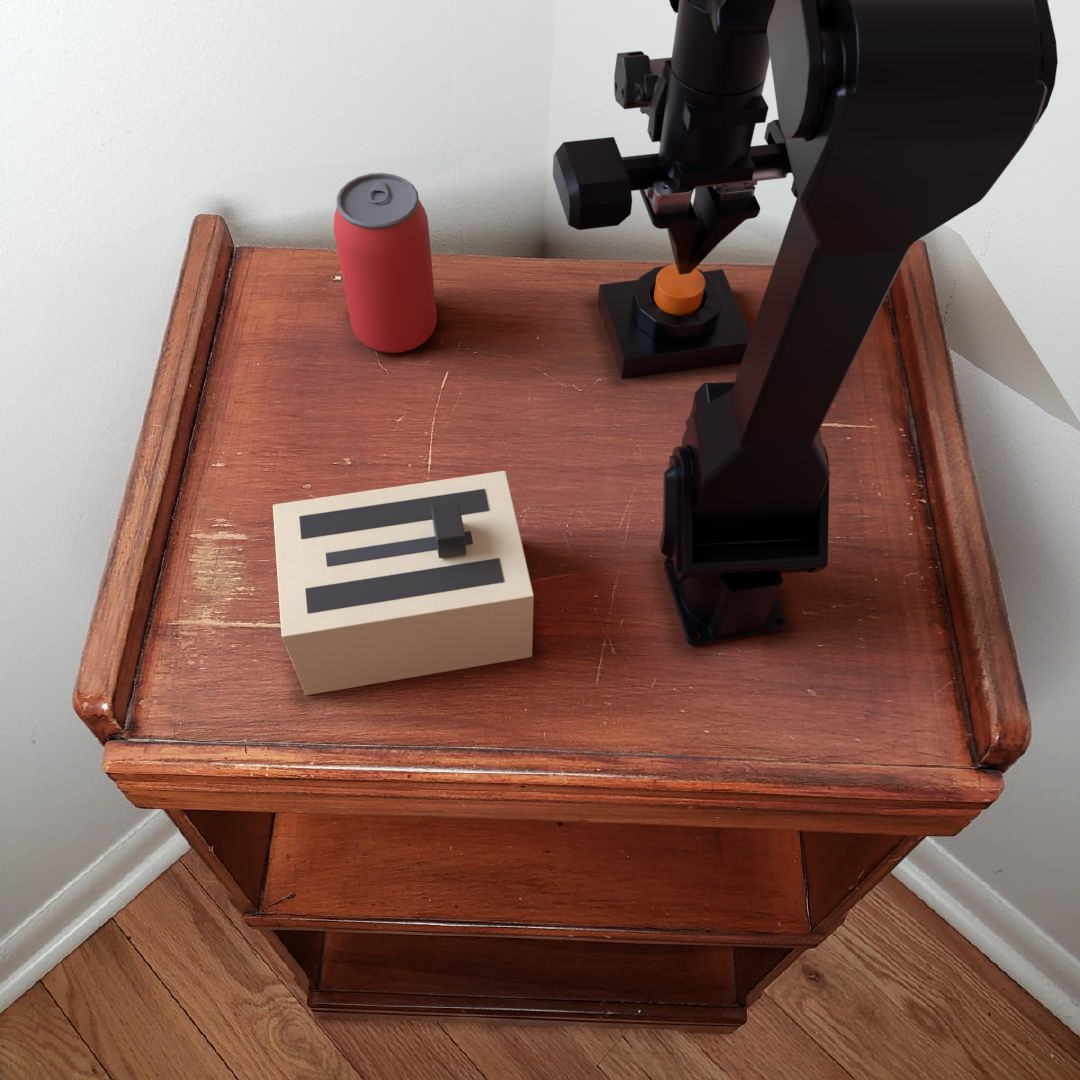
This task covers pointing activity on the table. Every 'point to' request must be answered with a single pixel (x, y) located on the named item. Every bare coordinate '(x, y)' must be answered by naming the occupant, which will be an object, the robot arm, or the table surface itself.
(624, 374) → the control block
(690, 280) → the button
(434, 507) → the slider
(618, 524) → the table surface
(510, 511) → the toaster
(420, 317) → the beer can
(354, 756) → the table surface
